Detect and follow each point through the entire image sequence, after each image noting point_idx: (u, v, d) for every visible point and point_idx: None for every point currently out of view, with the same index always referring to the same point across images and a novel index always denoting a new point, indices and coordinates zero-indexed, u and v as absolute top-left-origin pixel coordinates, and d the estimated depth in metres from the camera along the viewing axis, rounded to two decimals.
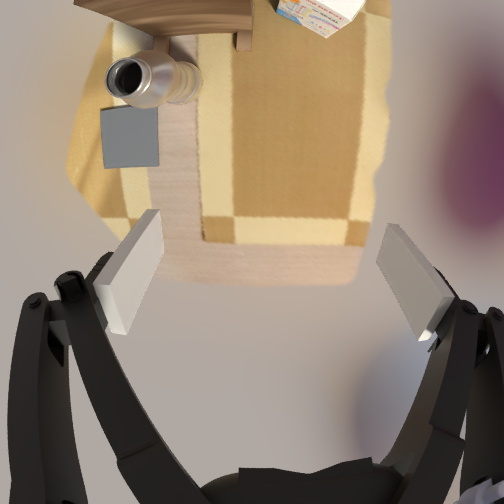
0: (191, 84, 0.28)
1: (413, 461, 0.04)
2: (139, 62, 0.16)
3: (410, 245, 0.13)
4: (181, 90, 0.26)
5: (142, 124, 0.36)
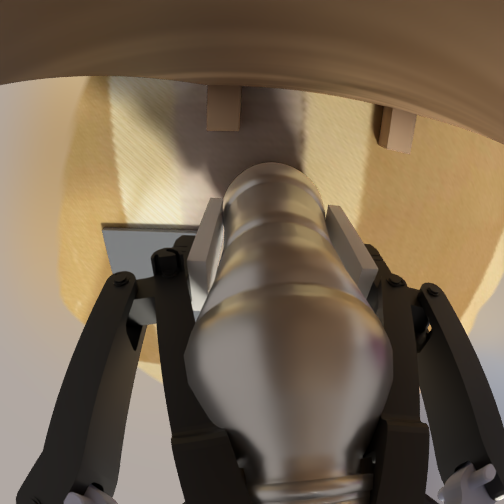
0: None
1: (377, 461, 0.04)
2: None
3: (344, 223, 0.14)
4: None
5: None
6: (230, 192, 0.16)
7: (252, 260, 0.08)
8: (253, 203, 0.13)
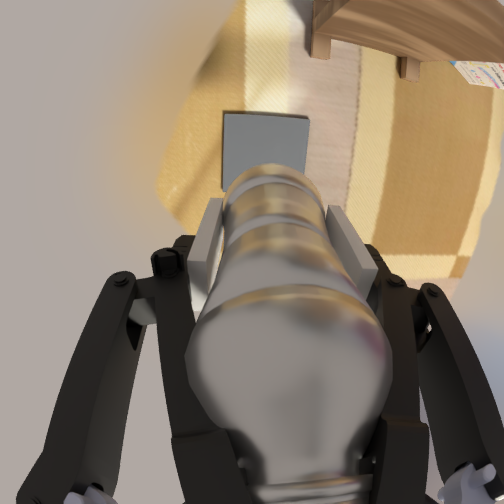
0: None
1: (377, 461, 0.04)
2: None
3: (344, 223, 0.14)
4: None
5: (287, 142, 0.31)
6: (230, 193, 0.16)
7: (252, 261, 0.08)
8: (253, 204, 0.13)
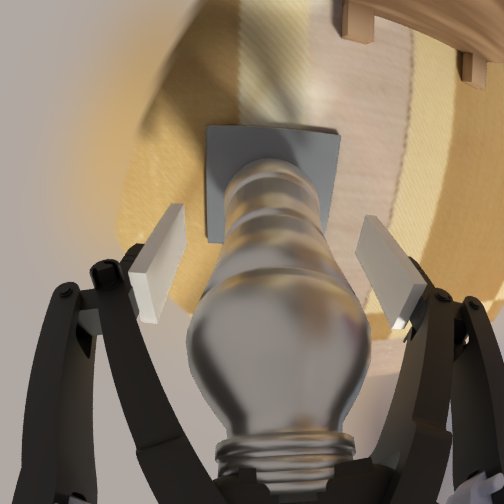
0: None
1: (400, 460, 0.04)
2: None
3: (385, 235, 0.13)
4: None
5: (305, 170, 0.20)
6: (231, 186, 0.17)
7: (248, 247, 0.10)
8: (251, 197, 0.14)
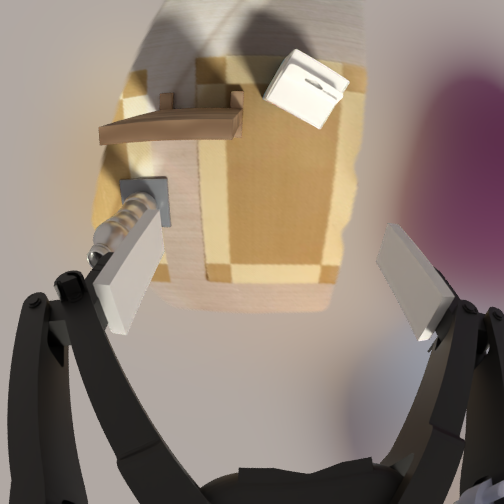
0: None
1: (413, 461, 0.04)
2: (104, 254, 0.33)
3: (410, 245, 0.13)
4: None
5: (155, 194, 0.50)
6: None
7: (109, 218, 0.39)
8: (122, 206, 0.44)
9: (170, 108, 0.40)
